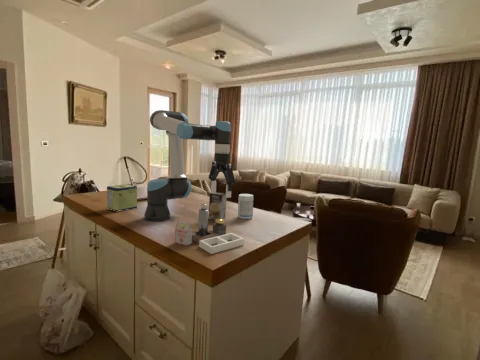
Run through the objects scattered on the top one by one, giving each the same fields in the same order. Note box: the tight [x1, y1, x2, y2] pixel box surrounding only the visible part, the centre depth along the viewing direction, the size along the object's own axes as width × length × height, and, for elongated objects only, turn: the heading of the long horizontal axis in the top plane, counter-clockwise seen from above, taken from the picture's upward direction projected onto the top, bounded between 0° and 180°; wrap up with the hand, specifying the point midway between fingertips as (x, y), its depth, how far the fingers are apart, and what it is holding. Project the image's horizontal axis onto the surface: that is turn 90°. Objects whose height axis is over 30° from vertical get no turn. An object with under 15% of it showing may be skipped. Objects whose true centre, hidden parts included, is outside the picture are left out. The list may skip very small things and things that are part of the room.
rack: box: [198, 232, 245, 255], centre depth 123 cm, size 10×18×3 cm, turn 130°
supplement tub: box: [237, 193, 254, 220], centre depth 171 cm, size 10×10×15 cm
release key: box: [214, 218, 225, 225], centre depth 139 cm, size 4×4×6 cm
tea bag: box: [174, 220, 193, 247], centre depth 124 cm, size 4×7×10 cm, turn 65°
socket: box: [192, 223, 227, 244], centre depth 135 cm, size 12×18×5 cm, turn 130°
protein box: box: [106, 183, 138, 211], centre depth 177 cm, size 10×16×16 cm
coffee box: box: [208, 191, 227, 221], centre depth 165 cm, size 9×6×16 cm
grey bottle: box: [197, 203, 209, 237], centre depth 132 cm, size 4×4×17 cm
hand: (220, 195), depth 136 cm, fingers open, 12 cm apart
